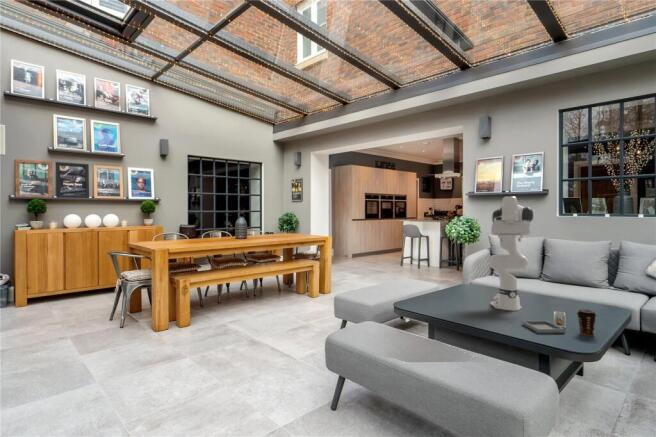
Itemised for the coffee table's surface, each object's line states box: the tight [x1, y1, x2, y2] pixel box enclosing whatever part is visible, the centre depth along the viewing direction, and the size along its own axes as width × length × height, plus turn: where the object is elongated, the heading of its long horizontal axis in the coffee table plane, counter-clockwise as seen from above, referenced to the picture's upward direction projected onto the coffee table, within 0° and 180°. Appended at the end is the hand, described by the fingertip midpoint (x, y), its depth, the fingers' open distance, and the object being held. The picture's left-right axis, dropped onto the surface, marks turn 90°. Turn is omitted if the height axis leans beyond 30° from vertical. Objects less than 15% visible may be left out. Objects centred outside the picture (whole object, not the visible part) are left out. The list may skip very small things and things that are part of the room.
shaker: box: [553, 310, 567, 329], centre depth 211 cm, size 6×5×8 cm
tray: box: [522, 320, 566, 335], centre depth 205 cm, size 16×15×2 cm
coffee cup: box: [576, 309, 597, 336], centre depth 197 cm, size 9×8×13 cm
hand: (510, 241), depth 202 cm, fingers open, 8 cm apart
